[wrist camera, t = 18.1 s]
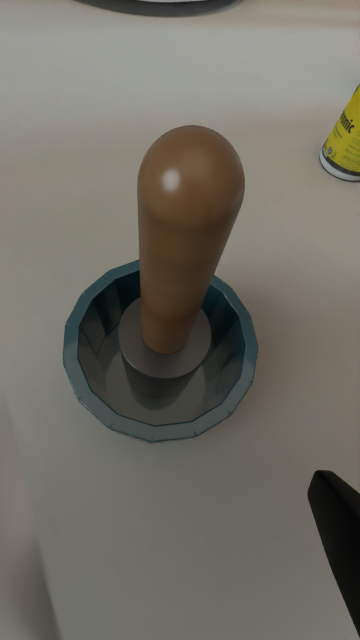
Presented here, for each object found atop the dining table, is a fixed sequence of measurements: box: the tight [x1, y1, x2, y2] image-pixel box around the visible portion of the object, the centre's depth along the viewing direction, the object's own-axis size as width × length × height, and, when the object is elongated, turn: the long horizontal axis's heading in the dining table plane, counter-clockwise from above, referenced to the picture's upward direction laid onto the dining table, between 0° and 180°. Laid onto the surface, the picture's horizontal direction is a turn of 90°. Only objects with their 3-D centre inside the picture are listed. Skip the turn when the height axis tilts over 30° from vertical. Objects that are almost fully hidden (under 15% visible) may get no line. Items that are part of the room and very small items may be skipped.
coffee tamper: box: [117, 125, 245, 399], centre depth 10 cm, size 4×4×13 cm
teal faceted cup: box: [63, 260, 258, 444], centre depth 14 cm, size 8×8×5 cm
